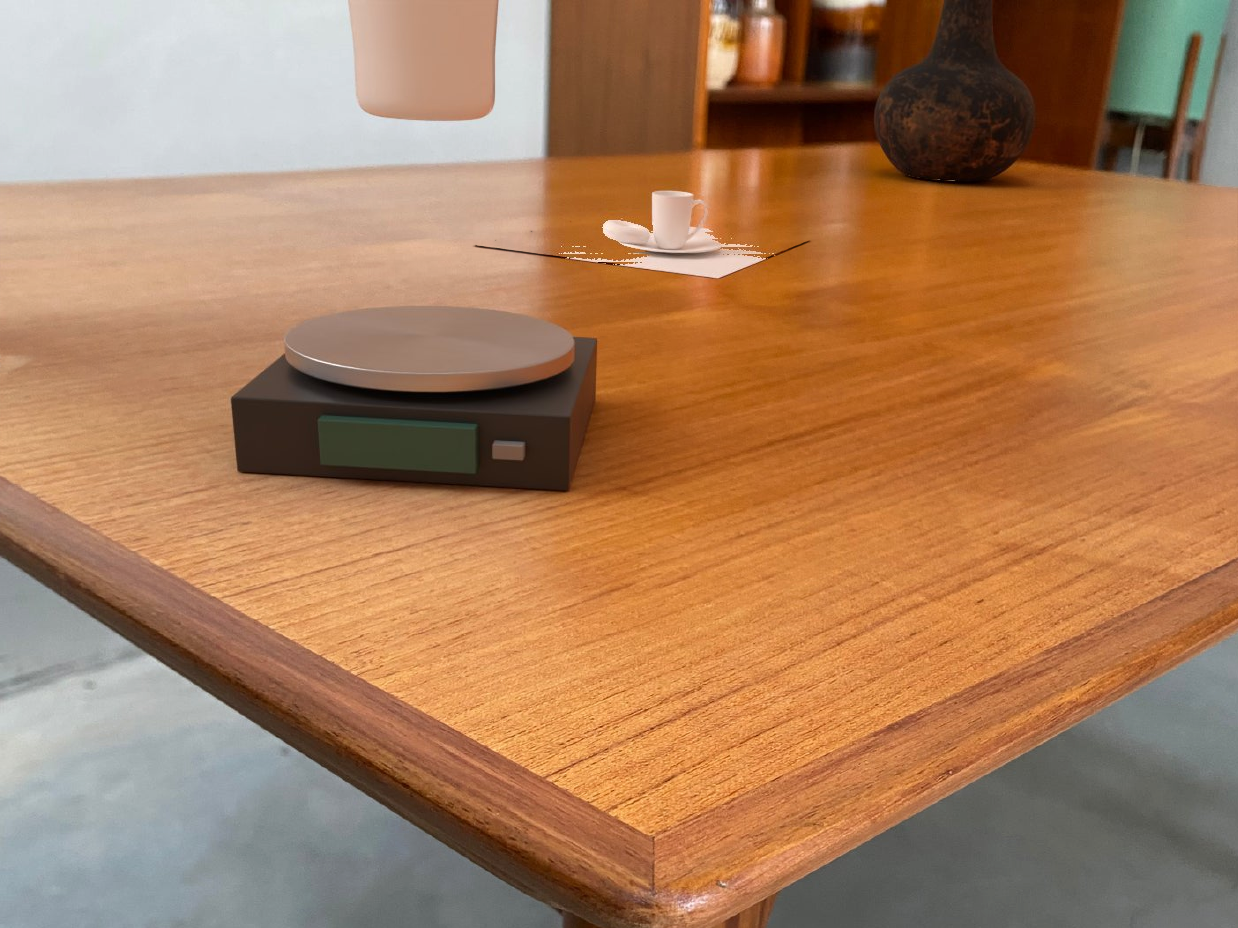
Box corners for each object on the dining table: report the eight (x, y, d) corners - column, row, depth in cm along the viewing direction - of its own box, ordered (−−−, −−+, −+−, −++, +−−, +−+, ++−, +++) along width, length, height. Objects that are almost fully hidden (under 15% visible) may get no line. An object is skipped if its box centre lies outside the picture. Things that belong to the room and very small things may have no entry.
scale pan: (245, 383, 51) (244, 363, 50) (328, 316, 61) (327, 298, 61) (558, 401, 50) (559, 381, 50) (586, 330, 61) (586, 313, 61)
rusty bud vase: (1032, 177, 158) (1075, -90, 146) (1015, 193, 143) (1062, -103, 131) (884, 164, 164) (914, -93, 151) (853, 179, 148) (884, -107, 136)
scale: (231, 477, 51) (224, 401, 50) (324, 385, 63) (321, 322, 62) (567, 497, 51) (568, 421, 49) (595, 400, 63) (597, 337, 62)
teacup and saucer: (590, 249, 100) (591, 192, 98) (635, 235, 106) (637, 182, 105) (696, 262, 97) (700, 204, 95) (736, 248, 103) (740, 193, 101)
